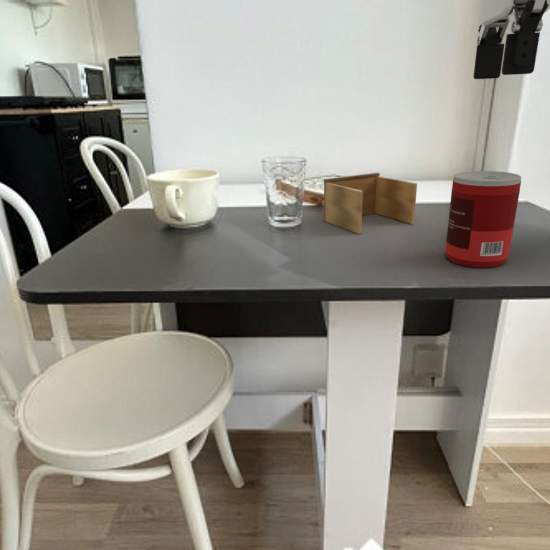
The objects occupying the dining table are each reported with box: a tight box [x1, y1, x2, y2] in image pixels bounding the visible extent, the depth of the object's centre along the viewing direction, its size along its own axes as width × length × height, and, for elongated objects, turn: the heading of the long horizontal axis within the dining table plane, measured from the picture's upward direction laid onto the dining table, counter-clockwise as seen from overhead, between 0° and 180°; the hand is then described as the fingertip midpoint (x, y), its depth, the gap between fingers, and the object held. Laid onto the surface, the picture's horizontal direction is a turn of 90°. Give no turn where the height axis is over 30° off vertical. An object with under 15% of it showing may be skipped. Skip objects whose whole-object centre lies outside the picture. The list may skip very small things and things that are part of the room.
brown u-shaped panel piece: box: [323, 172, 418, 235], centre depth 77 cm, size 11×12×8 cm
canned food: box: [444, 170, 522, 269], centre depth 57 cm, size 8×8×11 cm
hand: (500, 76), depth 53 cm, fingers open, 9 cm apart
